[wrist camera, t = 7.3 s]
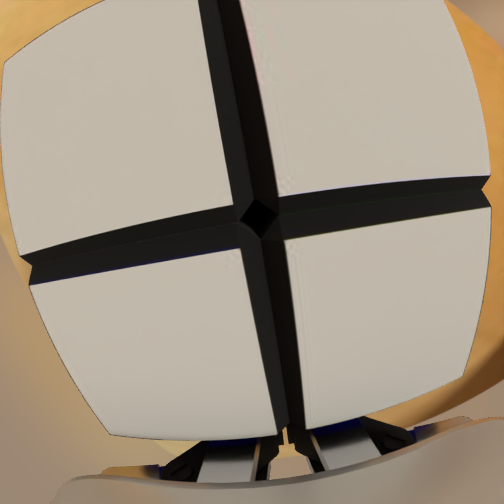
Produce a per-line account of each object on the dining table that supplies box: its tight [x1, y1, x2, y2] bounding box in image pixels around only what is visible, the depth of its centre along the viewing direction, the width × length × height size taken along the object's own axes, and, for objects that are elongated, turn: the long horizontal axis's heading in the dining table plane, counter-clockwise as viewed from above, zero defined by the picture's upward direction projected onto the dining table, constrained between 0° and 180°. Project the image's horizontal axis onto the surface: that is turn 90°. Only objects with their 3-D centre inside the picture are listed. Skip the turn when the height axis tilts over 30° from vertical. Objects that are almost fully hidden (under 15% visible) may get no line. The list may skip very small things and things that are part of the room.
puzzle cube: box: [0, 0, 492, 441], centre depth 9 cm, size 10×10×10 cm
